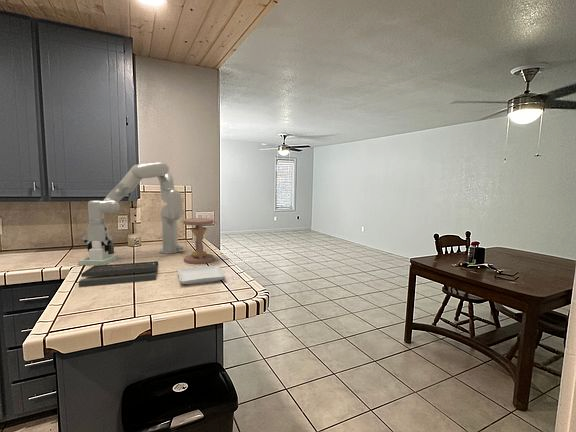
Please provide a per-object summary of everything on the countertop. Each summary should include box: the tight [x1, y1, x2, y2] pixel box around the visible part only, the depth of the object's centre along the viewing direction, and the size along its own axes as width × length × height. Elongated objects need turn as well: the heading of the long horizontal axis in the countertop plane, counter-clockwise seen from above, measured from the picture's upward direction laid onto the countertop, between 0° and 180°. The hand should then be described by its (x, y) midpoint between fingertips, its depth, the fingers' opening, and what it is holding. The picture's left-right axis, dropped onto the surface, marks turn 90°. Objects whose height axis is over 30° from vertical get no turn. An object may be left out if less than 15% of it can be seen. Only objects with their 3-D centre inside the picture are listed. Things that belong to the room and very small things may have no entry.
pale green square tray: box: [77, 254, 118, 266], centre depth 174 cm, size 14×14×2 cm
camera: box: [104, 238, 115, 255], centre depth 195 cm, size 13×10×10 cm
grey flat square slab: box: [177, 265, 226, 285], centre depth 150 cm, size 21×21×3 cm
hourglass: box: [182, 217, 215, 265], centre depth 182 cm, size 18×18×25 cm
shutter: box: [78, 260, 159, 288], centre depth 154 cm, size 32×7×31 cm
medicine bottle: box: [88, 241, 109, 260], centre depth 174 cm, size 7×7×12 cm
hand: (98, 251), depth 174 cm, fingers open, 9 cm apart
